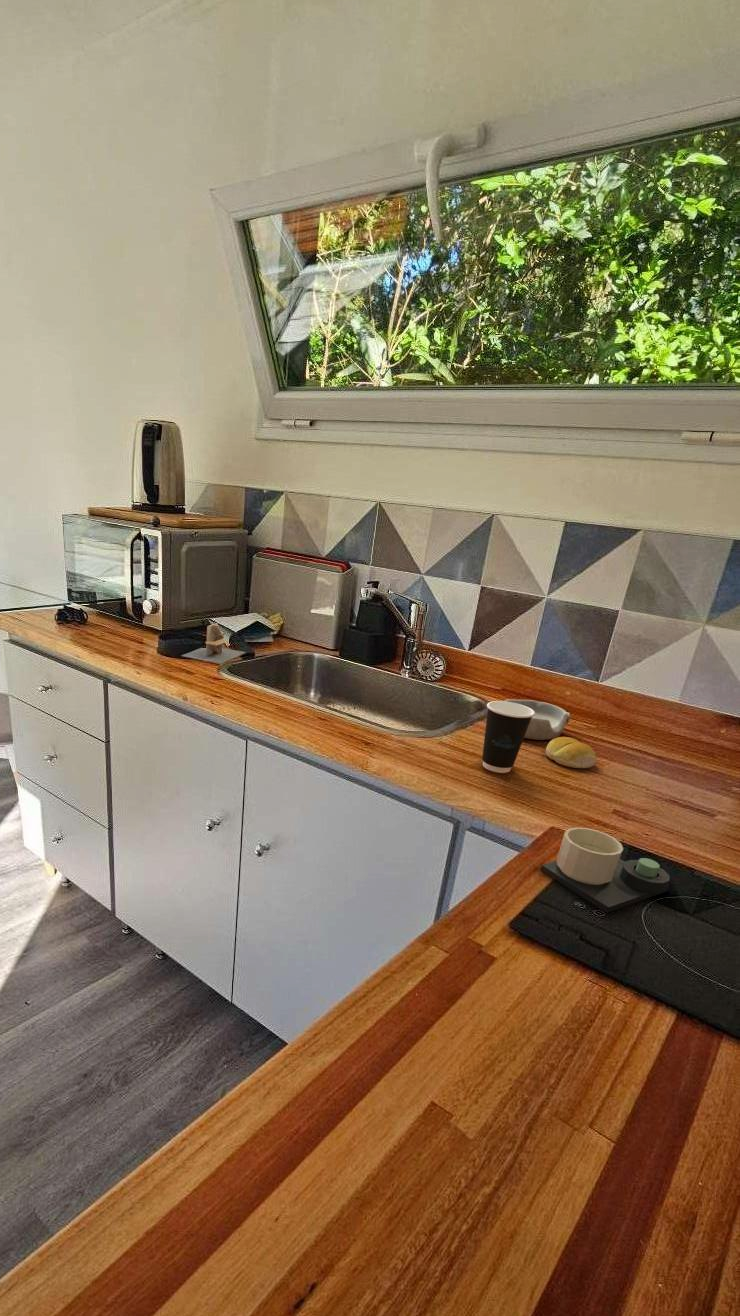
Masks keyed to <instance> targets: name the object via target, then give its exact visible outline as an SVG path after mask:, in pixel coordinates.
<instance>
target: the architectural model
mask: <svg viewBox="0 0 740 1316" xmlns="http://www.w3.org/2000/svg"><path fill="white" fill-rule="evenodd" d="M224 637H225V633H224V632H222V631H221V629H220V627H219V622H215V623H212V624H210V625H207V626H206V641H205V644H206V645H205V646H206V648H202V647H200V648H197V649H195V650H192V651H190V652H187V653H183V654H181V657H185V658H189V659H190V658H191V659H194V660H195V659H196V660H200V661H205V662H209V663H215V664H220V665H222V664H223V663H227V662H229V661H232V660H233V659H235V658H238V657H240V656H242V655H245V654H246V653H247V651H241V650H236V649H230V648H225V647H224V643H227V642H229V639H228V638H224Z"/></svg>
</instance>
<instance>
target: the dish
mask: <svg viewBox="0 0 740 1316" xmlns="http://www.w3.org/2000/svg"><path fill="white" fill-rule="evenodd" d="M504 701H506V702H513V703H517V704H521V705H524V706H527V707H529V708H531V709H532V710H533V711H534V712H535V715H534V716H532V718H531V721H530V723H529V726H528V729H527V731H526V734H525V736H524V739H529V740H538V741H545V740H553V739H555V738H559V737H560V736H561V735H562V733H563V731H564V728H565V727H566V724H568V723H569V722H570V719H571V713H570V712H567V711H566V710H565V709H564V708H561V707H560V706H558V705H554V704H552V703H548V702H545V701H537V700H533V699H504Z"/></svg>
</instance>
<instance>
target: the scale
mask: <svg viewBox="0 0 740 1316" xmlns="http://www.w3.org/2000/svg"><path fill="white" fill-rule="evenodd" d="M638 861H639V859H629V860H623V859H621V858H620V861H619V863H618V866H617V869H616V872H615V875H614V877H613V879H612V881H610V882H607V883H604V884H600V885H591V884H586V883H582V882H579V881H576V880H574V879H572V878H570V877H568V876H567V875H565V874H564V873H563V872H562V871H561V869H560V868H559V867H558V865H557V861H556V860H555V861H554V860H553V861H551V862H547V863H544V864H541V866H540V870H539V871H541V872H542V873H544V874H545V875H547V876H549V877H550V878H552V879H553V880H555V881H556V882H558V883H559V884H561V885H562V886H564V887H565V888H567V889H569V890H570V891H572V892H573V893H575V894H577V896H580V897H581V898H583V899H584V900H586V901H587V902H589V903H591V904H592V905H593V906H595V907H597V908H599V910H601V911H603V912H605V913H607V914H608V913H611V912H614V911H616V910H619V909H622V908H624V907H627V906H630V905H632V904H635V903H639V902H641V901H643V900H646V899H650V898H652V897H655V896H657V895H660V894H663V893H666V892H668V889H669V884H670V879H671V876H670V874H668V872H667V871H666V870H665V869H664V868H661V867H660V868H659V870H658V873H657V876H656V877H655V878H652V877H646V876H643V875H641V874H639V873H637V872H636V870H635V869H636V867H637V864H638Z"/></svg>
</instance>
